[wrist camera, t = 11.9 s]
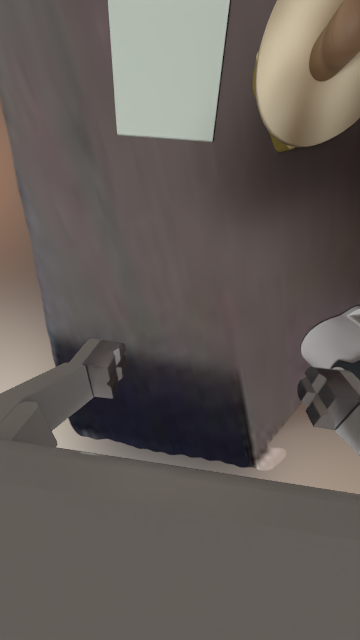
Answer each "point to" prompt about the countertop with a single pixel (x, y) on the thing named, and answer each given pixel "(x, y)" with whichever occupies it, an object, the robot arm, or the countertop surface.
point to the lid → (309, 70)
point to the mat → (167, 66)
